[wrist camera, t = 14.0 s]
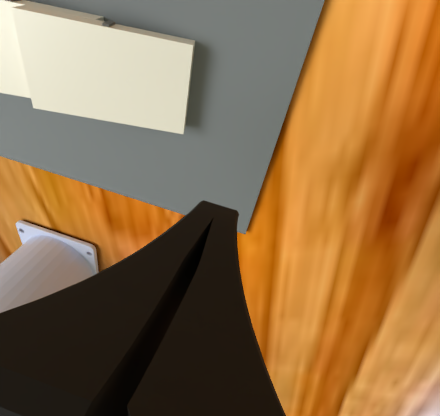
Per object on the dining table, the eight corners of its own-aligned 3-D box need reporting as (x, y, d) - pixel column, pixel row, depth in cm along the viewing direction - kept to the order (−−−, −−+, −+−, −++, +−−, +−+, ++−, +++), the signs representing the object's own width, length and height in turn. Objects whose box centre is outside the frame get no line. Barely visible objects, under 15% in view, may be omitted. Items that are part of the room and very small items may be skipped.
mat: (246, 230, 21) (245, 234, 21) (-147, 105, 24) (-153, 107, 24) (334, -30, 12) (334, -30, 12) (-322, -184, 15) (-336, -188, 14)
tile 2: (102, 110, 17) (-49, 84, 16) (108, 103, 18) (-33, 78, 17) (95, 16, 14) (-89, -22, 13) (103, 14, 15) (-68, -22, 14)
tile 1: (183, 134, 16) (33, 108, 15) (185, 125, 17) (44, 100, 16) (193, 42, 13) (10, 4, 13) (195, 38, 14) (24, 2, 14)
